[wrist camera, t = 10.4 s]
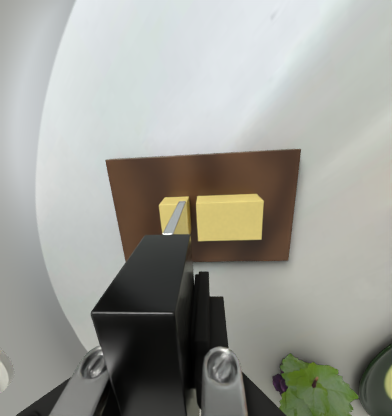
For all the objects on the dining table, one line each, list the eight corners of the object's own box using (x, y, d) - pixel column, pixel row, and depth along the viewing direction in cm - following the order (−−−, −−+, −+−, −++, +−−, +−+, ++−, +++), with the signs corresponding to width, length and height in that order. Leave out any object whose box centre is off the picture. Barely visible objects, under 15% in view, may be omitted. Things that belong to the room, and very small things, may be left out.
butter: (199, 230, 24) (198, 241, 21) (197, 195, 23) (195, 203, 20) (255, 228, 23) (261, 239, 21) (256, 193, 22) (263, 200, 19)
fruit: (270, 371, 38) (268, 338, 30) (329, 379, 35) (344, 344, 27) (280, 453, 30) (281, 437, 22) (359, 471, 27) (392, 460, 19)
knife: (178, 304, 16) (144, 495, 7) (168, 201, 13) (88, 313, 4) (202, 304, 16) (196, 499, 7) (197, 200, 13) (175, 313, 4)
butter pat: (168, 230, 24) (163, 242, 21) (164, 197, 23) (158, 204, 20) (191, 230, 24) (189, 241, 21) (189, 196, 23) (186, 203, 20)
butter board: (130, 256, 28) (125, 263, 26) (111, 159, 23) (105, 160, 22) (283, 254, 26) (288, 260, 25) (294, 148, 22) (301, 149, 20)
